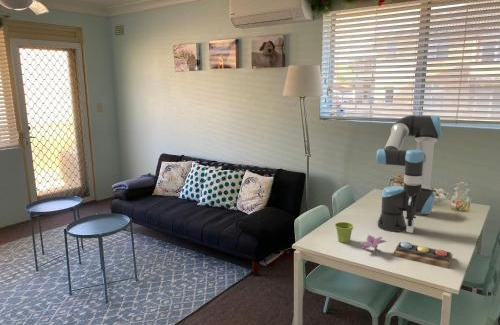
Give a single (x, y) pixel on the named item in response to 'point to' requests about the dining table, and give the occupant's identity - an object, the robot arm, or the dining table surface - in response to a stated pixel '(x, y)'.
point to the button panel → (423, 256)
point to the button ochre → (423, 249)
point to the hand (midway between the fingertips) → (409, 231)
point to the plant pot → (344, 231)
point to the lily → (372, 242)
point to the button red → (441, 253)
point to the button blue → (406, 245)
